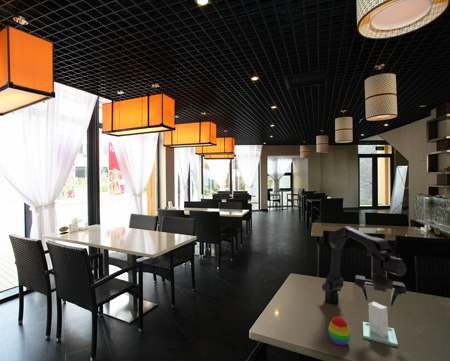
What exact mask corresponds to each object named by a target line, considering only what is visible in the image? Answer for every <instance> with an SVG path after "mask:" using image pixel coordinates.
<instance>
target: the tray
mask: <svg viewBox="0 0 450 361" xmlns="http://www.w3.org/2000/svg"><path fill="white" fill-rule="evenodd" d="M362 331H363V332H362V333H363V334H362V335H363V339H365V340H370V341H373V342H377V343H381V344H385V345H387V346H393V347H396V348H399V344H398V340H397V336H396V332H395V328H393V327H389V326H388V336H386V337H383V338H382V337H381V336H379V335H377V334H375V333H373V332H371V331H370V330H369V322H368V321H362Z"/></svg>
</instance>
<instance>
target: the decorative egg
mask: <svg viewBox="0 0 450 361" xmlns="http://www.w3.org/2000/svg"><path fill="white" fill-rule="evenodd" d="M350 330H351V329H350V326H349V325H348V323H347V321H346V320H345V319H344V318H343V317H341V316H334V317H333V318H332V319H331V320H330V322H329V325H328V335H329V337H330V339H331V341H332V342H333V343H334V344H336V345H338V346H346V345H347V344H348V343H349V342H350V339H351V331H350Z"/></svg>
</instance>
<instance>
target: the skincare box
mask: <svg viewBox="0 0 450 361" xmlns="http://www.w3.org/2000/svg"><path fill="white" fill-rule="evenodd" d="M388 319H389V316H388V307H387V306H385V305H382V304H380V303H378V302H377V301H372V302H370V303H368V323H369V330H370V331H371V332H373V333H375V334H377V335H379V336H381V337H382V338H383V337H386V336H388V327H389V323H388V322H389V320H388Z"/></svg>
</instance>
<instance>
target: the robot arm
mask: <svg viewBox="0 0 450 361" xmlns="http://www.w3.org/2000/svg"><path fill="white" fill-rule="evenodd" d="M349 238H351V239H352V240H355V241H357V242H359V243H361V244H363V245H364V246H365V248H366V249H367V250H369V252H368V253H367V254H366V255H367V256H369V257H371V279H368V278H366V276H364V275H358V274H356V275H355V276H354V278H355V279H354V284H355V285H356V286H358V288H360V289H361V290H362V292H363V294H364V298H365V301H366V302H368V301H369V300H368V299H369V298H368V290H367V285H371V286H372V287H373V290H375V291H381V292H385V293H386V292H387V291H388V290H390V289H391V293H390V294H391V296H390V307H393V305H394V303H395V301H396V299H397V297H398V296H402V294H403V295H404V294H406V293H407V292H406V291H407V288H406V285H405V283H403V282H400V281H395V280H394V281H393V280H392V279H388V275H387V274H388V273H390V274H393V275H395V276H397V277H398V276H399V277H403V276H404V275H406V274H407V270H408V269H407V265H406V264H405V263H404V260H403V258H400V257H396V253H395V252H394V251H393V249H392V248H391V246H390V243H389V242H388V240H387V239H385V238H380V237H375V236H371V235H369V234H366V233H364V232H362V231H360V230H357V229H355V228H353V227H352V226H342V227H341V228H339V229H337V230H334V231H331V232H329V233H328V243H329V246H330V248H331V250H330V251H331V252H330V262H329V264H330V265H329V273H328V274H327V275H326V278H325V282H324V283H323V284H322V285H321V288H322V291H324V303H326V304H332V305H335V306H337V305H338V304H339V303H340V293H339V292H341V291H342V289H343V287H344V286H345V285H344V281H345V280H344V278H342V276H341V264H342V263H341V261H342V249H343V247H344V246H345V245H346V241H347V239H349Z"/></svg>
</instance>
